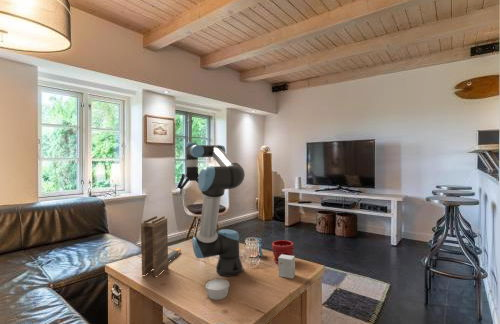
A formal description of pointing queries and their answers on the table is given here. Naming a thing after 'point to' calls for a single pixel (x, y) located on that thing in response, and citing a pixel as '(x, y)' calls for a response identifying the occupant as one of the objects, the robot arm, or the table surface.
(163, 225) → the brown tall wooden block
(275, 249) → the plant pot
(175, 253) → the marker
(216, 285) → the ramekin
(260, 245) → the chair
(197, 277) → the table surface
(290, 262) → the small box
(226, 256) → the robot arm
